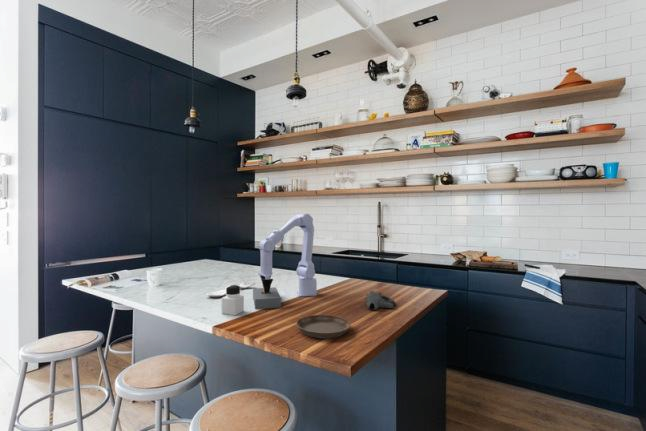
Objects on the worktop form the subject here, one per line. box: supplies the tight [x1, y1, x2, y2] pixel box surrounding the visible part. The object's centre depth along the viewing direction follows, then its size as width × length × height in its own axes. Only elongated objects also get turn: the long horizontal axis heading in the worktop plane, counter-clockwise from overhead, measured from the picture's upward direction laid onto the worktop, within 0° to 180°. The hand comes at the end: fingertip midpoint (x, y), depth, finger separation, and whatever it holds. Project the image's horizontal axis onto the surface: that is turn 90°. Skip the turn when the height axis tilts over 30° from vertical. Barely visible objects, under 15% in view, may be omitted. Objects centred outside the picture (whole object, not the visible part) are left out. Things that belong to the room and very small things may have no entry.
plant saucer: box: [296, 314, 351, 339], centre depth 131 cm, size 21×21×3 cm
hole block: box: [252, 287, 282, 310], centre depth 170 cm, size 12×22×4 cm, turn 14°
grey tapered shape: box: [363, 290, 397, 311], centre depth 167 cm, size 5×25×15 cm
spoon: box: [206, 280, 256, 298], centre depth 189 cm, size 9×32×4 cm, turn 152°
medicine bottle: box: [221, 284, 245, 316], centre depth 152 cm, size 7×7×12 cm
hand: (266, 291), depth 170 cm, fingers open, 7 cm apart
